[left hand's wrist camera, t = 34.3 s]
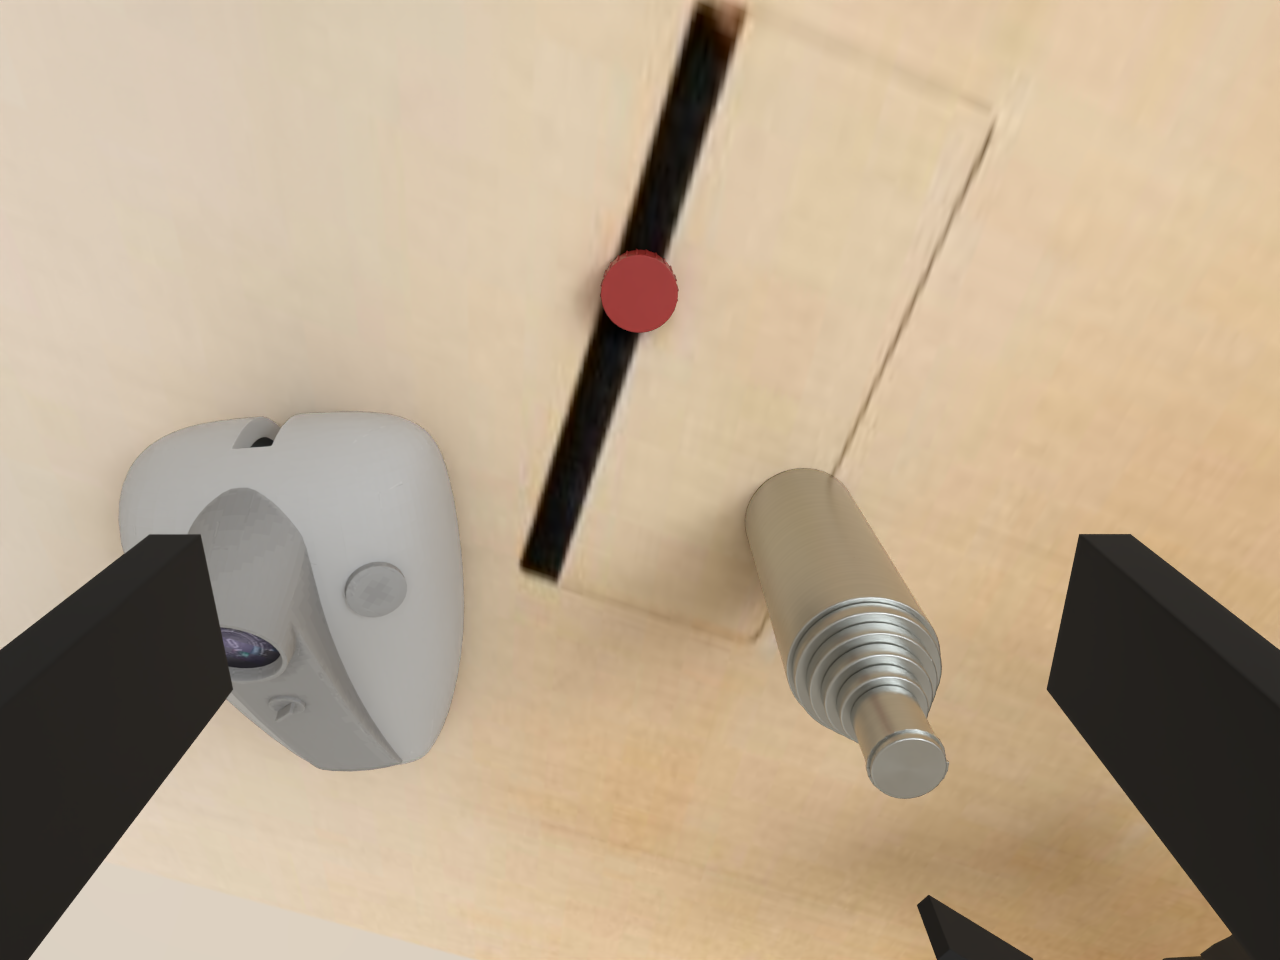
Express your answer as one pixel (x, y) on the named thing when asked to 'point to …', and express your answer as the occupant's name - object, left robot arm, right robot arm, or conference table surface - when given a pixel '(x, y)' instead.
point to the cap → (639, 291)
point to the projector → (320, 573)
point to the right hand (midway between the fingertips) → (1049, 825)
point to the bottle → (848, 627)
